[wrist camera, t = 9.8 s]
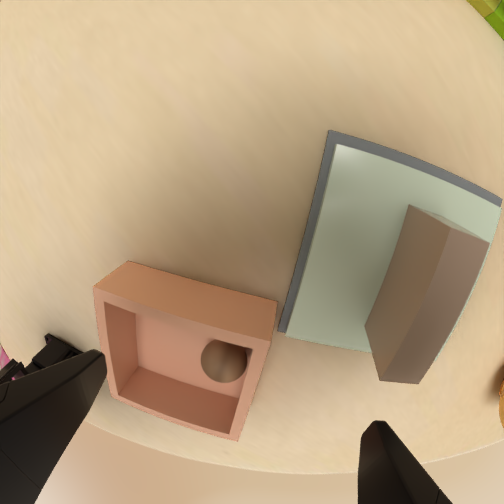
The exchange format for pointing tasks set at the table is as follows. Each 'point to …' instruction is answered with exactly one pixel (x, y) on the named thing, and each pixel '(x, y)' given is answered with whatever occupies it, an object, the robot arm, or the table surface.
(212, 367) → the ball
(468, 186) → the mat
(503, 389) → the stress ball
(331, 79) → the table surface
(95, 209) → the table surface
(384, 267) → the lid
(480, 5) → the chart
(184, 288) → the dish
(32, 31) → the table surface
